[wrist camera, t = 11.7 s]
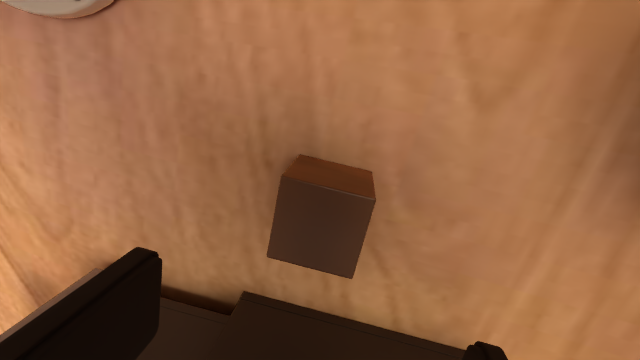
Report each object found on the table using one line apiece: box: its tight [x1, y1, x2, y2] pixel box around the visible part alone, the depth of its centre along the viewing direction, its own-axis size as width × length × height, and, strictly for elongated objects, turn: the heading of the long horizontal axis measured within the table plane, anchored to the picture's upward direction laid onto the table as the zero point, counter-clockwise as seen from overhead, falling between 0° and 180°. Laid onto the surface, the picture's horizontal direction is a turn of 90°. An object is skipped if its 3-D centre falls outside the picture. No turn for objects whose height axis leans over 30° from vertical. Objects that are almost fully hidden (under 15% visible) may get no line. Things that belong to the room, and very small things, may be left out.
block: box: [267, 155, 376, 279], centre depth 17 cm, size 4×4×4 cm
